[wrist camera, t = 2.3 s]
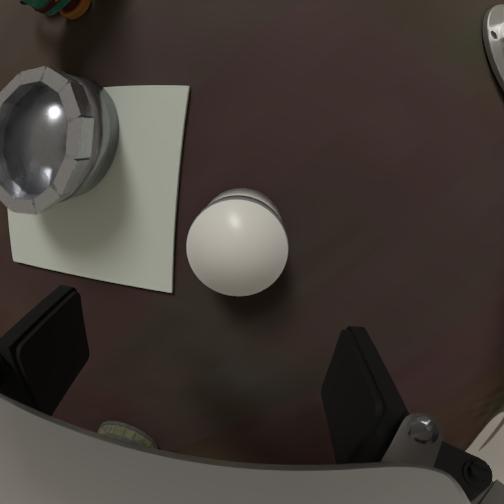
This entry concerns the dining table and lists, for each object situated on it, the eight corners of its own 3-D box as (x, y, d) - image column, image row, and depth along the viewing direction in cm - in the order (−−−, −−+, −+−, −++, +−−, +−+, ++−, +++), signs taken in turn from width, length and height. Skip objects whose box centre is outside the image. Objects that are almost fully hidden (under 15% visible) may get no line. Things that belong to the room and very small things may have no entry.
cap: (289, 193, 22) (297, 207, 17) (276, 271, 24) (279, 302, 19) (205, 182, 22) (189, 193, 17) (198, 260, 24) (183, 289, 19)
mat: (190, 87, 19) (188, 86, 19) (173, 290, 25) (171, 292, 24) (13, 100, 19) (11, 100, 19) (15, 259, 24) (13, 260, 24)
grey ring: (127, 73, 18) (90, 57, 13) (115, 201, 22) (77, 219, 17) (33, 85, 18) (-10, 81, 13) (26, 194, 22) (-16, 209, 16)
